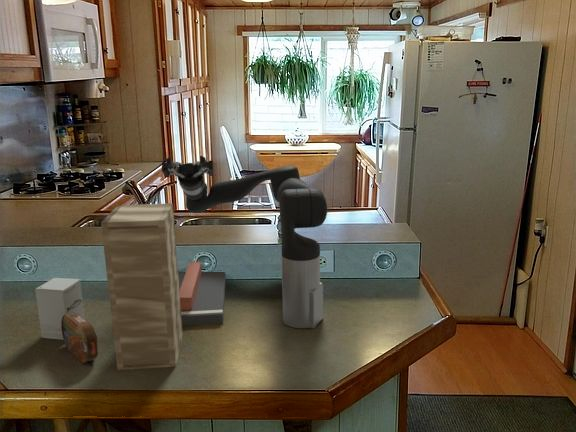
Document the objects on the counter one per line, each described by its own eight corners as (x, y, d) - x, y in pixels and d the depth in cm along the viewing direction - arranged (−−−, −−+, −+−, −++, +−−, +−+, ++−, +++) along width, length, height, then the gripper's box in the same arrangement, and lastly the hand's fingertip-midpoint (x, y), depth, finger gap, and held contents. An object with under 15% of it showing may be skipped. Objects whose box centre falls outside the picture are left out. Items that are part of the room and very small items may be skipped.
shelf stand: (130, 337, 123) (117, 205, 114) (182, 334, 124) (172, 203, 115) (117, 370, 109) (100, 222, 101) (175, 366, 110) (164, 220, 102)
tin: (62, 344, 121) (57, 310, 118) (75, 339, 123) (71, 306, 120) (87, 369, 110) (83, 333, 108) (102, 364, 112) (98, 328, 110)
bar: (190, 273, 156) (189, 262, 155) (201, 272, 156) (201, 261, 155) (178, 310, 131) (177, 297, 130) (192, 310, 131) (191, 297, 130)
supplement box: (69, 341, 122) (62, 290, 118) (41, 338, 123) (33, 288, 120) (87, 326, 129) (81, 278, 125) (60, 324, 130) (53, 276, 127)
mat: (165, 281, 156) (164, 272, 156) (225, 278, 158) (225, 270, 157) (148, 327, 128) (147, 317, 127) (223, 323, 129) (222, 313, 128)
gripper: (167, 168, 158) (158, 147, 143) (215, 167, 159) (211, 145, 144) (167, 192, 156) (158, 173, 141) (215, 190, 157) (212, 171, 142)
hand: (185, 159), depth 142 cm, fingers open, 8 cm apart
